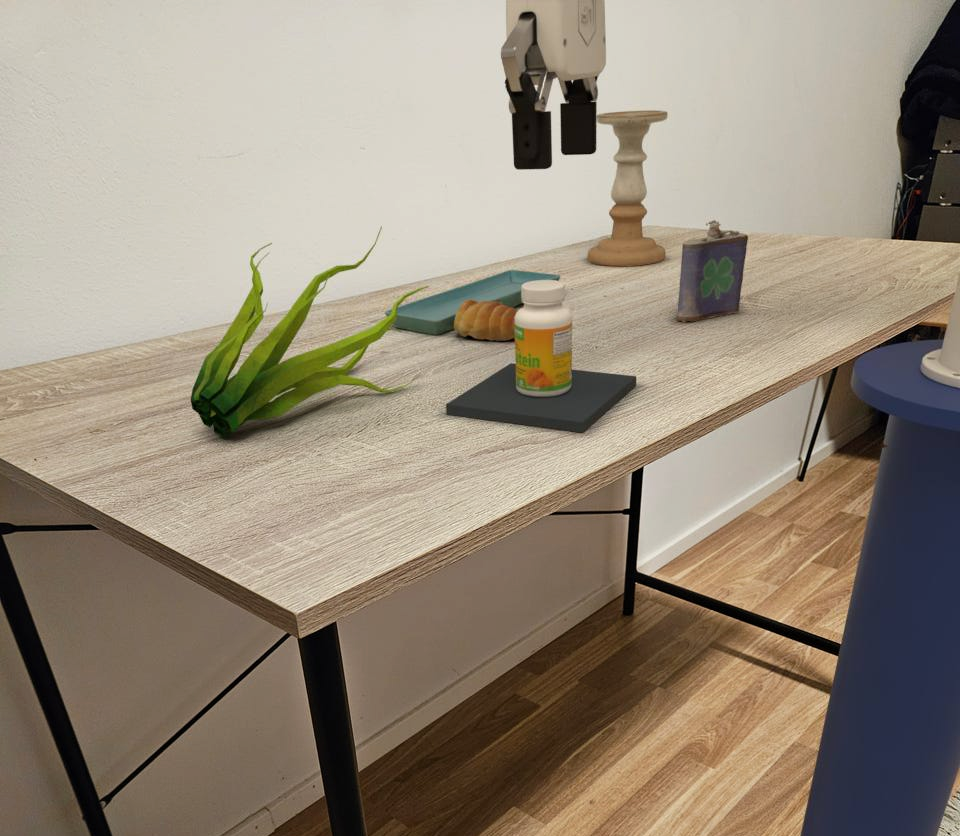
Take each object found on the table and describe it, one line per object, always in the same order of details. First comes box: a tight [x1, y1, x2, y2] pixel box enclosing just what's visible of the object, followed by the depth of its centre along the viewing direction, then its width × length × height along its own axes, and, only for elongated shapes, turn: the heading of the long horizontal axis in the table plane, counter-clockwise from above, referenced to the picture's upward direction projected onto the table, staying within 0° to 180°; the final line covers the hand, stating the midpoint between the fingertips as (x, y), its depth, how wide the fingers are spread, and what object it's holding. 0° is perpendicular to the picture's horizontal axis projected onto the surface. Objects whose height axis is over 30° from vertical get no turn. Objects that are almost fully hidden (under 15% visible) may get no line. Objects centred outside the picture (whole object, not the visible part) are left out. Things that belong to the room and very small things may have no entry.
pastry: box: [453, 299, 519, 342], centre depth 107 cm, size 9×7×4 cm
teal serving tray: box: [384, 269, 561, 336], centre depth 118 cm, size 26×9×2 cm, turn 140°
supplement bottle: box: [514, 280, 573, 397], centre depth 84 cm, size 5×5×10 cm
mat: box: [445, 362, 637, 434], centre depth 87 cm, size 14×14×1 cm
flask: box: [676, 219, 749, 323], centre depth 108 cm, size 9×3×11 cm, turn 117°
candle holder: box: [587, 109, 669, 267], centre depth 137 cm, size 12×12×20 cm
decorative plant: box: [190, 226, 430, 440], centre depth 88 cm, size 18×30×15 cm, turn 124°
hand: (556, 161), depth 76 cm, fingers open, 9 cm apart
